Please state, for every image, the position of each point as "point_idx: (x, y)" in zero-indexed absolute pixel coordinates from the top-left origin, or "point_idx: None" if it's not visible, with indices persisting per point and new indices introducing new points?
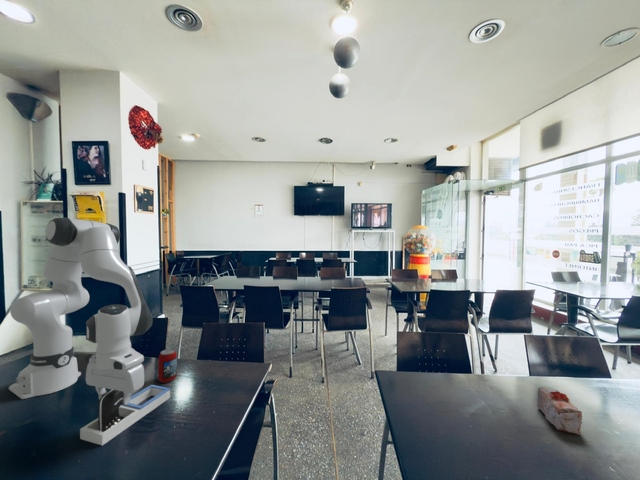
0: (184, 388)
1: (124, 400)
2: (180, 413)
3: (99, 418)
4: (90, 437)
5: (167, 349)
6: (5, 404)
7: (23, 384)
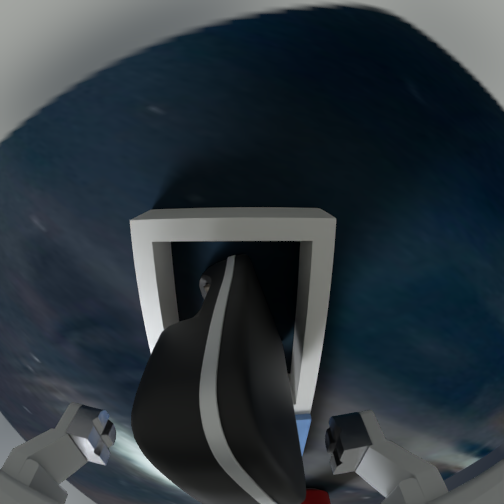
0: None
1: (59, 424)
2: None
3: (233, 296)
4: (238, 211)
5: None
6: None
7: None
